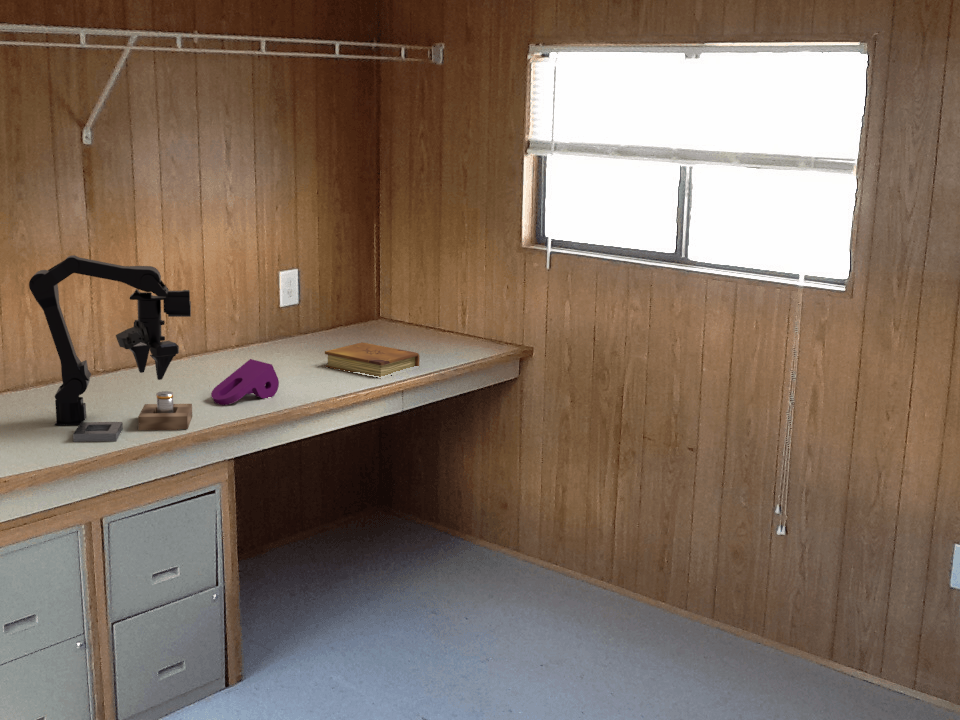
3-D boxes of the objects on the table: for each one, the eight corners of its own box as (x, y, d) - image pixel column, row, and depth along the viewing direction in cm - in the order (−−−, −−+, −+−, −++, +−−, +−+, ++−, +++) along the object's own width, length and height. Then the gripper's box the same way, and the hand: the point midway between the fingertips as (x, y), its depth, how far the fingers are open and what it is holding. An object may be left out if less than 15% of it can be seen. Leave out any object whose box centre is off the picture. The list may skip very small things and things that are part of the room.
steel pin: (156, 425, 290) (155, 395, 288) (158, 421, 294) (157, 391, 292) (173, 425, 290) (172, 395, 289) (174, 420, 294) (173, 391, 292)
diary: (419, 370, 358) (419, 352, 357) (381, 381, 343) (381, 362, 342) (363, 358, 371) (363, 341, 370) (324, 368, 356) (324, 350, 355)
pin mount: (73, 441, 275) (73, 434, 274) (81, 429, 284) (81, 422, 284) (116, 441, 276) (115, 433, 276) (122, 429, 286) (122, 421, 285)
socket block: (138, 430, 285) (138, 416, 285) (145, 417, 297) (144, 404, 296) (187, 429, 287) (187, 416, 286) (192, 416, 299) (191, 403, 298)
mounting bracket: (237, 426, 312) (282, 388, 322) (225, 402, 307) (272, 364, 318) (215, 419, 318) (261, 382, 328) (204, 395, 313) (250, 358, 323)
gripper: (102, 313, 290) (104, 373, 293) (138, 326, 277) (140, 388, 280) (142, 309, 297) (143, 367, 301) (179, 321, 285) (180, 381, 288)
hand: (150, 376), depth 292 cm, fingers open, 9 cm apart
